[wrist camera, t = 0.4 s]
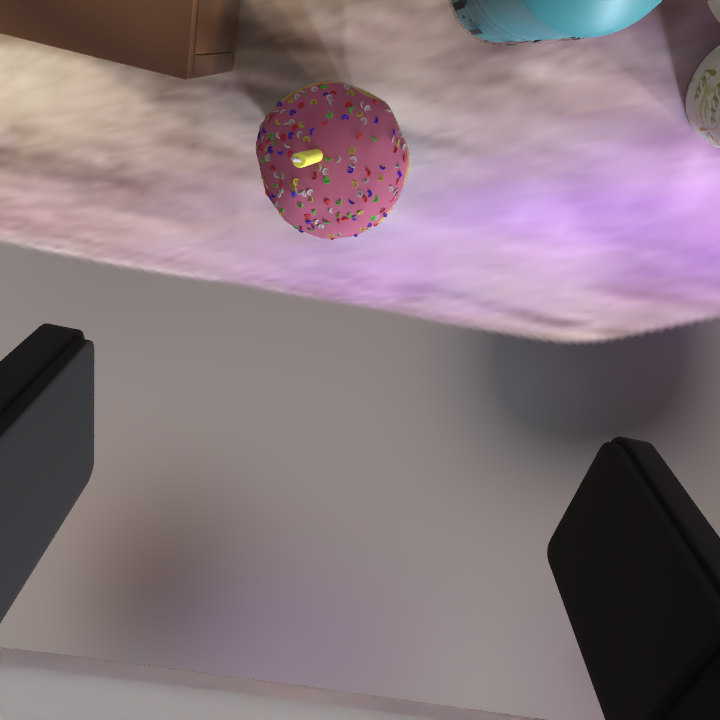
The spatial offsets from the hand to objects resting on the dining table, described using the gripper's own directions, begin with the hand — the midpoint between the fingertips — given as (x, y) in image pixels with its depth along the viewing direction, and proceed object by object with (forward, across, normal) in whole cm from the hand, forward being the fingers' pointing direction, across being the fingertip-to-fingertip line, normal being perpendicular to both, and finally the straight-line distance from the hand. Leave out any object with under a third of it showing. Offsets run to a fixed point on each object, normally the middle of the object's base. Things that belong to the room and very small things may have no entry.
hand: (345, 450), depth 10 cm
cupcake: (+30, +1, 0) cm, 30 cm away
